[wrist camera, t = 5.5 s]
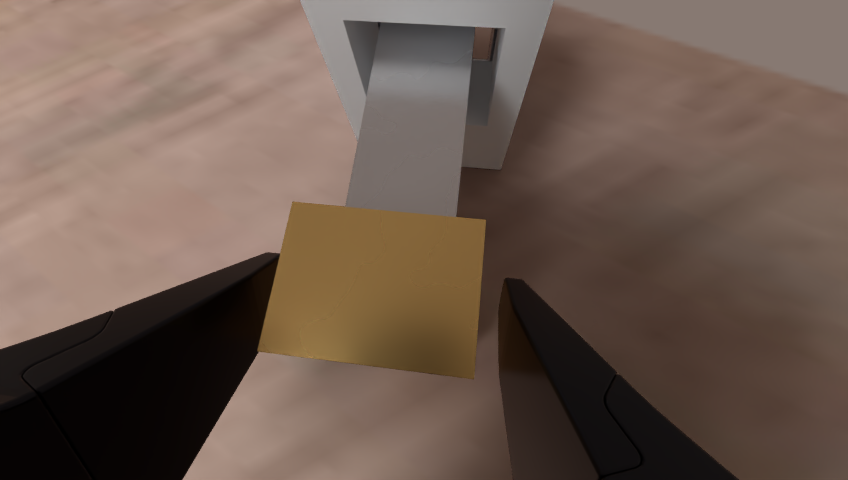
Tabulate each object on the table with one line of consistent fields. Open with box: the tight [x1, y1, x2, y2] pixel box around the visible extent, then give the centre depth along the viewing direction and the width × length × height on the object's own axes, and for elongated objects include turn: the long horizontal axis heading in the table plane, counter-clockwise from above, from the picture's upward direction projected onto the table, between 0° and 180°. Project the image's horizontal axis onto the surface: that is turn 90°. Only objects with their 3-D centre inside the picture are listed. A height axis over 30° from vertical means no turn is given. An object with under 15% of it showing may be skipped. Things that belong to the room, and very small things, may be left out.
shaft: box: [257, 22, 486, 379], centre depth 12 cm, size 11×4×8 cm, turn 173°
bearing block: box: [300, 0, 554, 170], centre depth 13 cm, size 3×6×9 cm, turn 83°
